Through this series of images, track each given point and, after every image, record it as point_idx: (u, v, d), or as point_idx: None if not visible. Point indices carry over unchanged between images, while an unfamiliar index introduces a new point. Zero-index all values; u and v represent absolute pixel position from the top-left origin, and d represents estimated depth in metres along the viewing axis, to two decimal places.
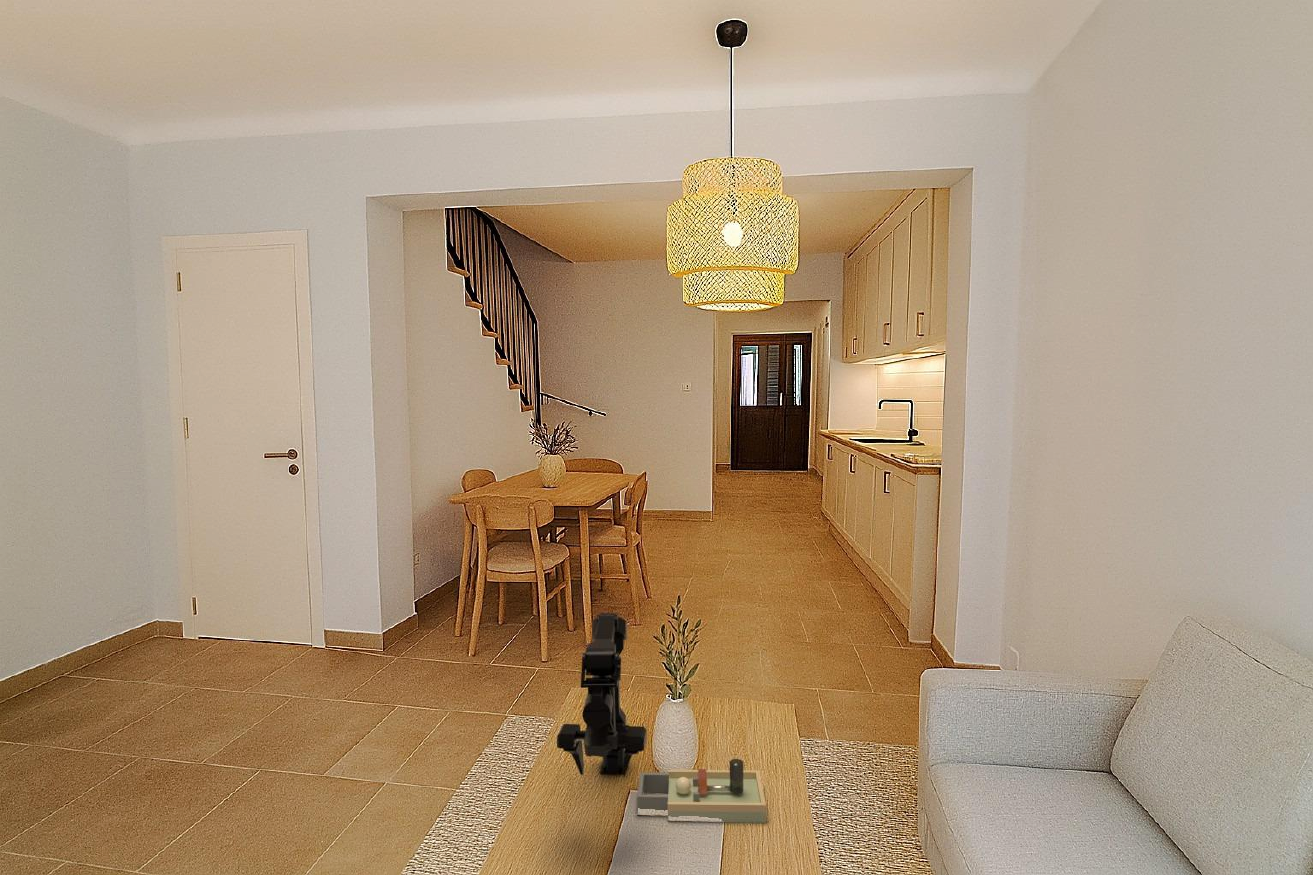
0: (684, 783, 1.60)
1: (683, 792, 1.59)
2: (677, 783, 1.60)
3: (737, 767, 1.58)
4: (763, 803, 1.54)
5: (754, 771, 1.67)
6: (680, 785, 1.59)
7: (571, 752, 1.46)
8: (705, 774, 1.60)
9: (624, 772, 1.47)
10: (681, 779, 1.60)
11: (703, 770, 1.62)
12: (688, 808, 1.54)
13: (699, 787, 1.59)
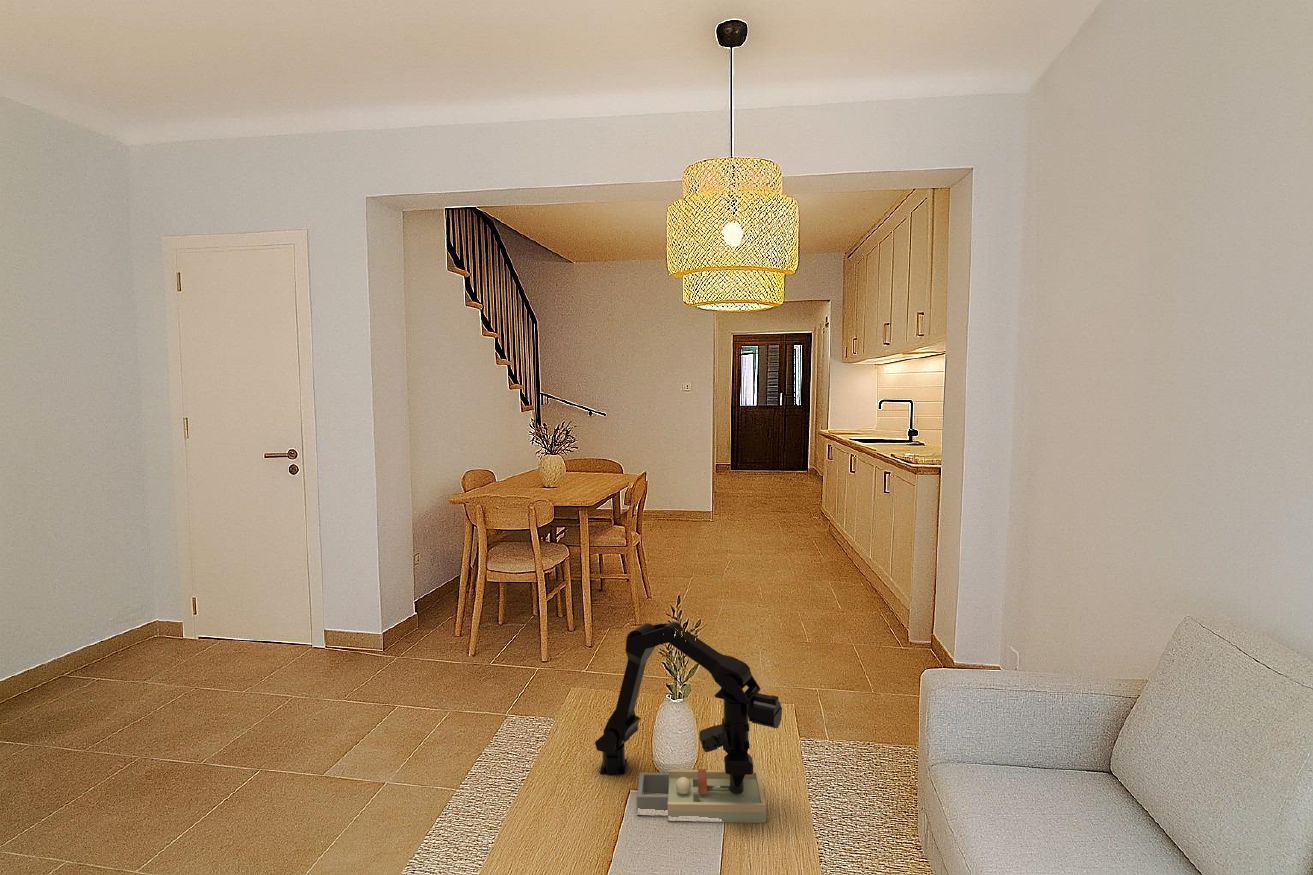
0: (684, 783, 1.60)
1: (683, 792, 1.59)
2: (677, 783, 1.60)
3: None
4: (763, 803, 1.54)
5: (754, 771, 1.67)
6: (680, 785, 1.59)
7: None
8: (705, 774, 1.60)
9: None
10: (681, 779, 1.60)
11: (703, 770, 1.62)
12: (688, 808, 1.54)
13: (699, 787, 1.59)
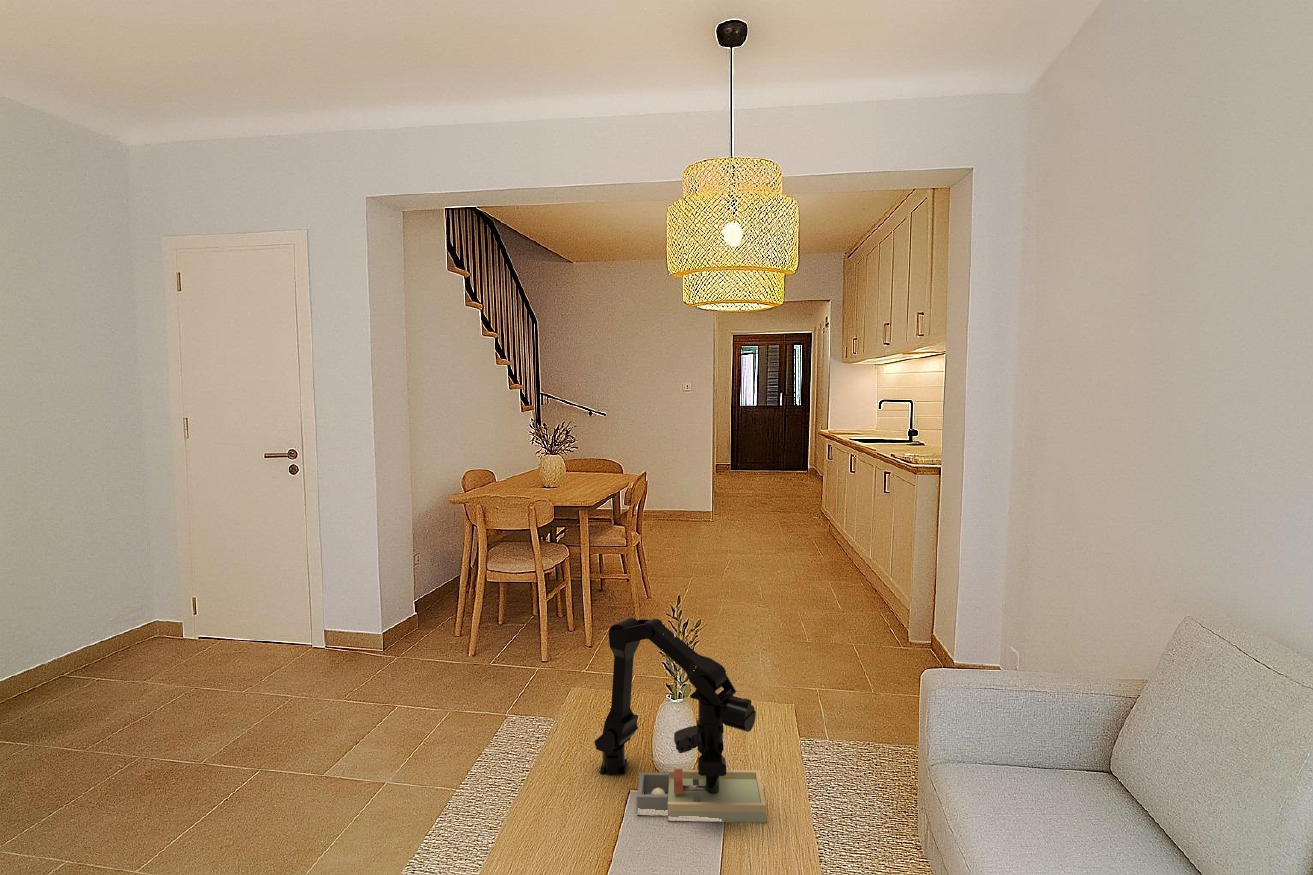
0: None
1: None
2: None
3: None
4: (763, 803, 1.54)
5: (754, 771, 1.67)
6: None
7: None
8: (681, 774, 1.60)
9: None
10: None
11: (679, 770, 1.62)
12: (688, 808, 1.54)
13: (675, 787, 1.59)
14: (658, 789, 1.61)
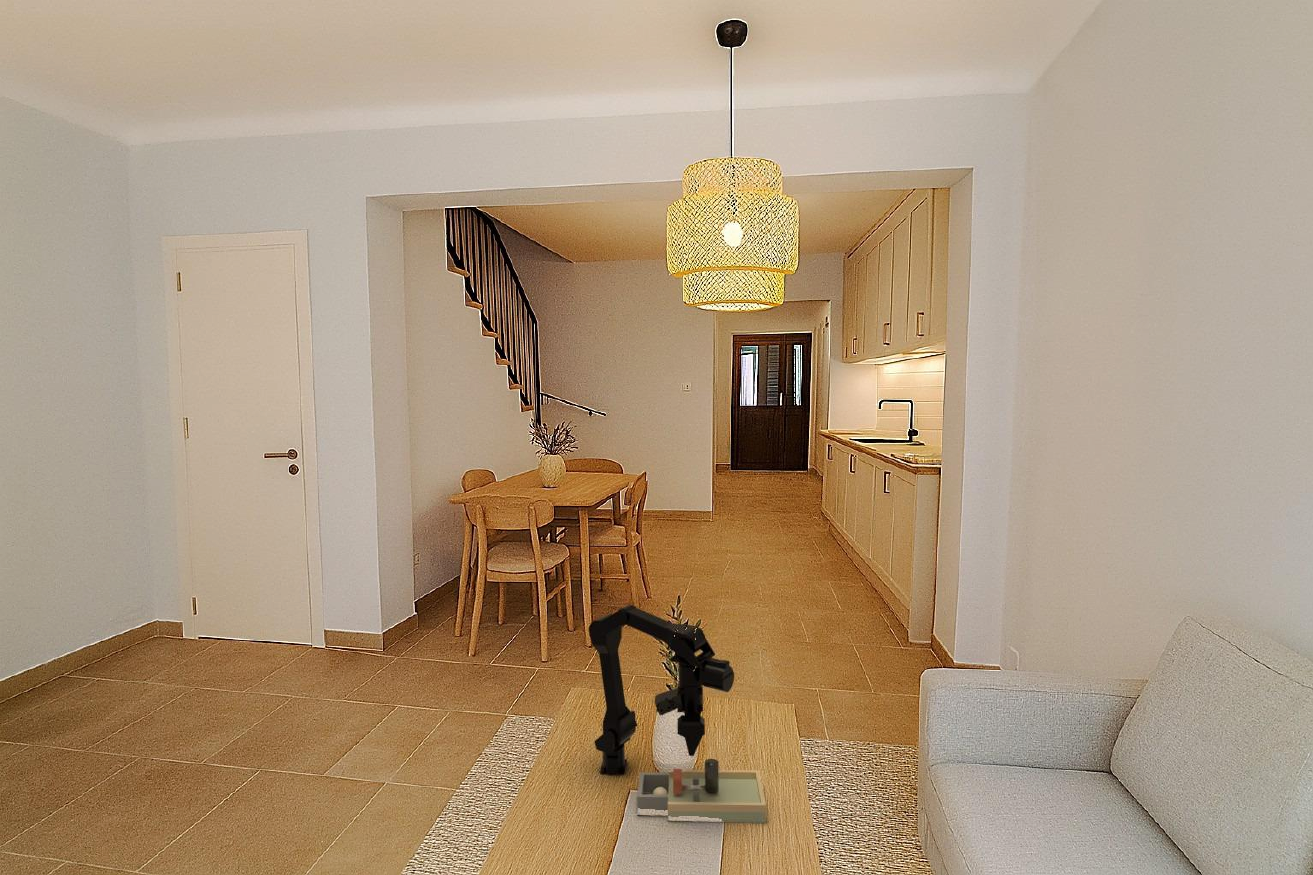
0: None
1: None
2: None
3: (712, 767, 1.59)
4: (763, 803, 1.54)
5: (754, 771, 1.67)
6: None
7: None
8: (680, 774, 1.60)
9: (688, 750, 1.58)
10: None
11: (678, 770, 1.62)
12: (688, 808, 1.54)
13: (674, 787, 1.59)
14: (661, 788, 1.61)
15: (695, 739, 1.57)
